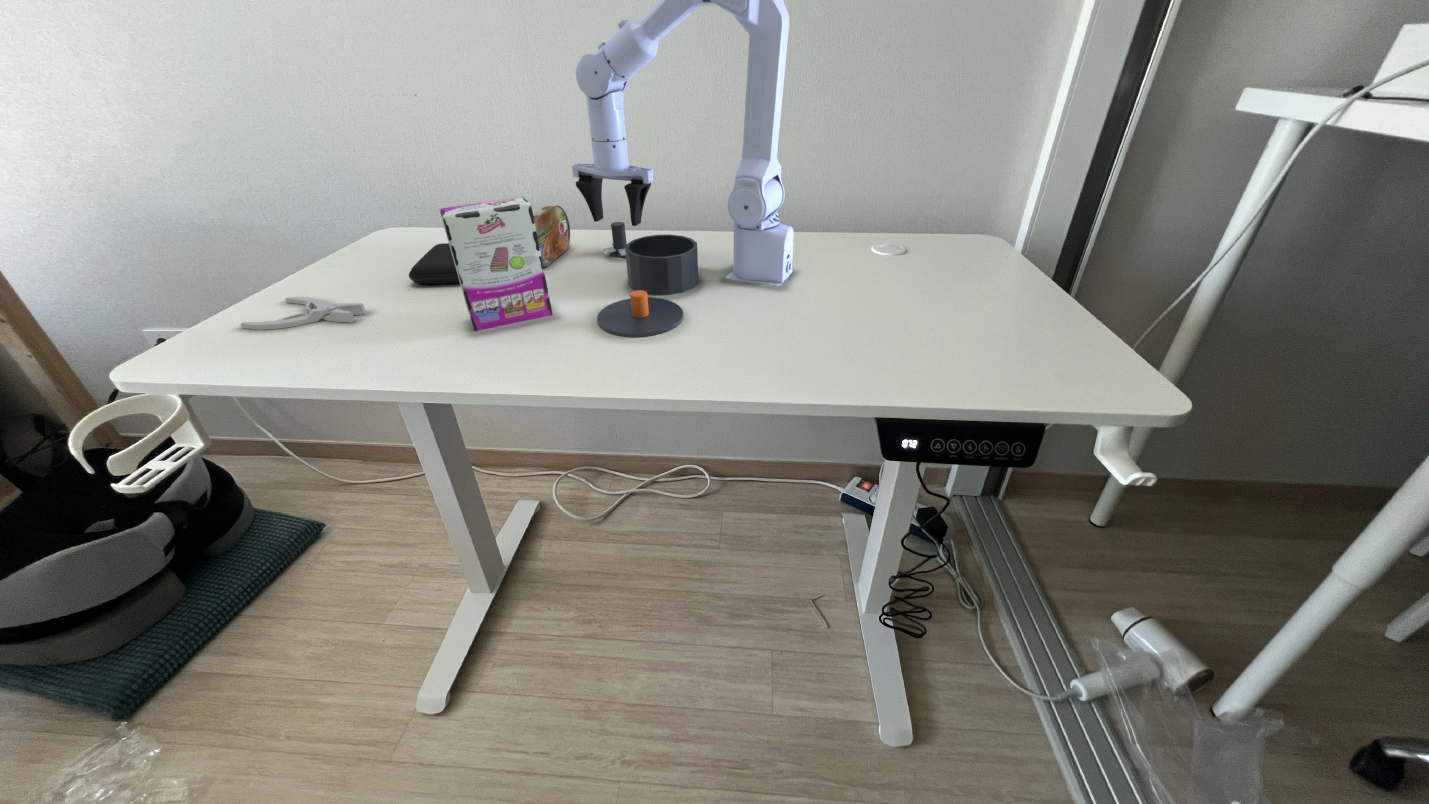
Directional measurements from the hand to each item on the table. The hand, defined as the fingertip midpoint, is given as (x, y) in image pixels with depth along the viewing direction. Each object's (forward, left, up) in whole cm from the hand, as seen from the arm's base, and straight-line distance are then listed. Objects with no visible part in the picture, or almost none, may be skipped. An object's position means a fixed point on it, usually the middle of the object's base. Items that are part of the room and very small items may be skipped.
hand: (617, 222), depth 103 cm
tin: (+12, +5, -6) cm, 14 cm away
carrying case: (+24, +16, -6) cm, 29 cm away
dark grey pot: (-13, +10, -6) cm, 17 cm away
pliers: (+31, +38, -6) cm, 49 cm away
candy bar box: (+2, +29, -6) cm, 30 cm away
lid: (-16, +23, -6) cm, 29 cm away
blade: (0, 0, -6) cm, 6 cm away
